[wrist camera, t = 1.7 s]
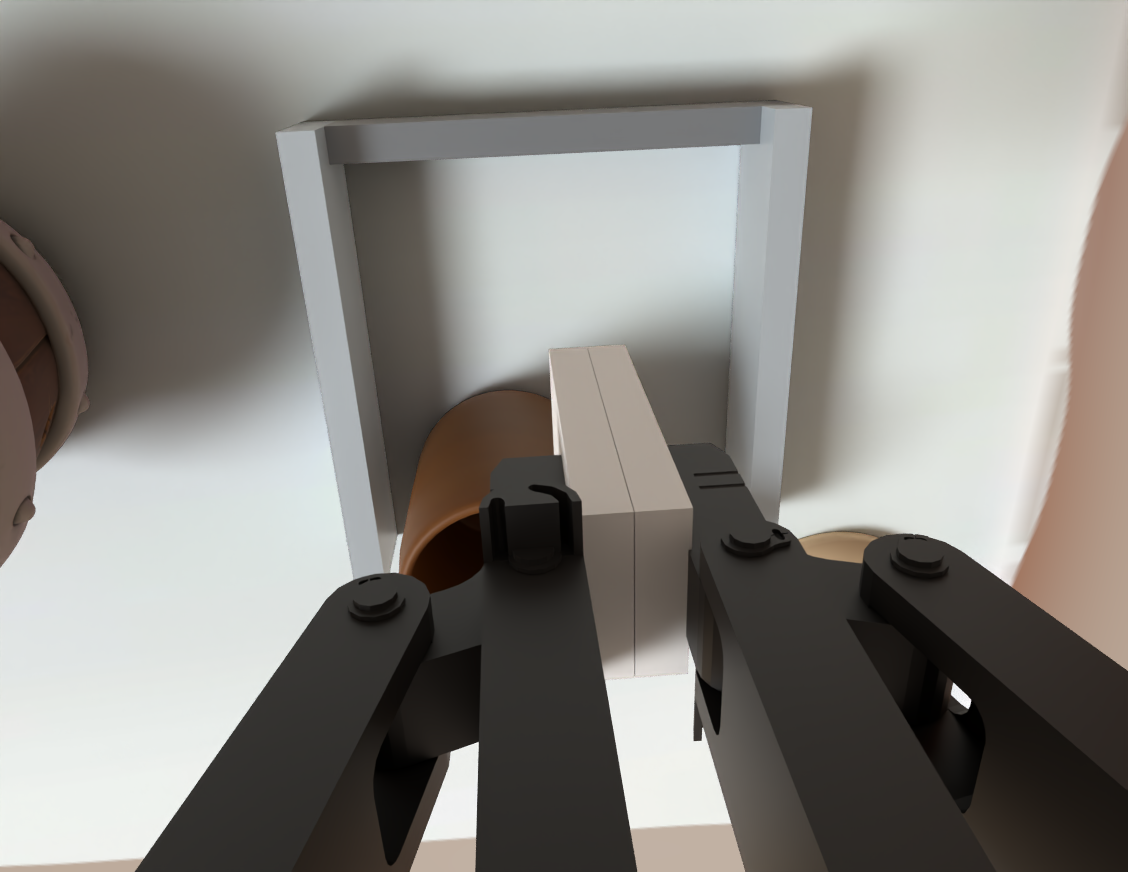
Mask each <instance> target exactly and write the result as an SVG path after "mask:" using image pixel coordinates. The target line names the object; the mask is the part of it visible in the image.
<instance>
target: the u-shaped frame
mask: <svg viewBox="0 0 1128 872" xmlns="http://www.w3.org/2000/svg"><path fill="white" fill-rule="evenodd" d="M812 108H813V107H808V106H803V105H797V104H792V103H787V102H782V101H777V100H768V101H746V102H725V103H703V104H681V105H659V106H637V107H616V108H594V109H572V110H550V111H529V112H507V113H485V114H463V115H441V116H420V117H398V118H376V119H354V120H332V121H311V122H301V123H299V124H296V125H293V126H291V127H288V128H286V129H283V130H280V131H278V132H275V133H276V139H277V145H278V151H279V156H280V162H281V168H282V173H283V179H284V185H285V190H286V196H287V202H288V208H289V213H290V219H291V225H292V230H293V236H294V242H295V247H296V253H297V259H298V265H299V270H300V276H301V282H302V287H303V293H304V299H305V305H306V310H307V316H308V322H309V327H310V333H311V339H312V344H313V350H314V356H315V362H316V367H317V373H318V379H319V384H320V390H321V396H322V402H323V407H324V413H325V419H326V424H327V430H328V436H329V441H330V447H331V453H332V459H333V464H334V470H335V476H336V481H337V487H338V493H339V498H340V504H341V510H342V516H343V521H344V527H345V533H346V538H347V544H348V550H349V556H350V561H351V567H352V573H353V578H354V580H355V579H357V578H361V577H364V576H369V575H372V574H378V573H390V568H391V564H392V559H393V554H394V550H395V545H396V540H397V529H396V522H395V515H394V508H393V501H392V494H391V487H390V480H389V473H388V467H387V460H386V453H385V446H384V439H383V432H382V425H381V418H380V411H379V404H378V397H377V390H376V383H375V377H374V370H373V363H372V356H371V349H370V342H369V335H368V328H367V321H366V314H365V307H364V300H363V294H362V287H361V280H360V273H359V266H358V259H357V252H356V245H355V238H354V231H353V224H352V217H351V210H350V204H349V197H348V190H347V183H346V176H345V169H344V164H355V163H376V162H396V161H417V160H438V159H458V158H479V157H500V156H521V155H541V154H562V153H583V152H603V151H624V150H645V149H666V148H686V147H707V146H728V145H740V162H739V183H738V203H737V223H736V244H735V264H734V284H733V305H732V325H731V345H730V366H729V386H728V406H727V427H726V447H725V453H726V454H728V455H729V456H730V457H731V459H732V461H733V463H734V464H735V466H736V468H737V470H738V474H740V475H741V477H742V479H743V481H744V482H745V486H747V488H748V489H749V491H750V493H751V495H752V497H753V498H754V500H755V502H756V504H757V505H758V507H759V509H760V511H761V513H762V514H763V516H764V518H765V520H766V521H769V522H774V523H776V524H778V519H779V507H780V495H781V483H782V471H783V458H784V446H785V434H786V422H787V410H788V398H789V386H790V374H791V362H792V350H793V338H794V325H795V313H796V301H797V289H798V277H799V265H800V253H801V241H802V229H803V217H804V205H805V192H806V180H807V168H808V156H809V144H810V132H811V120H812Z"/></svg>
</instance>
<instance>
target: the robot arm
mask: <svg viewBox="0 0 1128 872" xmlns="http://www.w3.org/2000/svg"><path fill="white" fill-rule="evenodd" d="M549 362H550V383H551V404H552V424H553V445H554V455H548V456H533V457H518V458H503V459H502V460H501V461H500V463H499V464H498V465H497V466H496V467H495V468H494V470H493V471H492V472H491V473H490V493H489V494H487V495H486V496H485V497H484V498H483V499H482V501H481V504H480V506H479V517H480V528H481V538H482V549H483V559H484V566H483V567H482V569H481V570H480V571H479V572H478V573H477V574H476V575H474V576H473V577H472V578H470V579H469V580H467V581H465V582H463V583H461V584H460V585H457V586H454V587H451V588H449V589H446V590H442V591H439V592H435V593H432V594H430V593H429V591H428V589H427V587H426V585H425V584H424V583H423V582H421V581H419V580H418V579H416V578H414V577H413V576H409V575H404V574H399V573H378V574H372V575H369V576H364V577H361V578H357V579H355V580H353V581H351V582H349V583H347V584H345V585H343V586H341V587H339V588H338V589H337V590H336V591H335V592H334V593H333V594H332V595H330V596H329V597H328V598H327V599H326V601H325V602H324V603H323V605H322V606H321V608H320V609H319V611H318V612H317V613H316V615H315V616H314V618H313V619H312V621H311V622H310V623H309V625H308V626H307V628H306V629H305V630H304V632H303V633H302V635H301V636H300V638H299V639H298V640H297V642H296V643H295V645H294V646H293V648H292V649H291V650H290V652H289V653H288V655H287V656H286V658H285V659H284V660H283V662H282V663H281V665H280V666H279V667H278V669H277V670H276V672H275V673H274V675H273V676H272V677H271V679H270V680H269V682H268V683H267V685H266V686H265V687H264V689H263V690H262V692H261V693H260V694H259V696H258V697H257V699H256V700H255V702H254V703H253V704H252V706H251V707H250V709H249V710H248V712H247V713H246V714H245V716H244V717H243V719H242V720H241V721H240V723H239V724H238V726H237V727H236V729H235V730H234V731H233V733H232V734H231V736H230V737H229V739H228V740H227V741H226V743H225V744H224V746H223V747H222V748H221V750H220V751H219V753H218V754H217V756H216V757H215V758H214V760H213V761H212V763H211V764H210V766H209V767H208V768H207V770H206V771H205V773H204V774H203V776H202V777H201V778H200V780H199V781H198V783H197V784H196V785H195V787H194V788H193V790H192V791H191V793H190V794H189V795H188V797H187V798H186V800H185V801H184V803H183V804H182V805H181V807H180V808H179V810H178V811H177V812H176V814H175V815H174V817H173V818H172V820H171V821H170V822H169V824H168V825H167V827H166V828H165V830H164V831H163V832H162V834H161V835H160V837H159V838H158V839H157V841H156V842H155V844H154V845H153V847H152V848H151V849H150V851H149V852H148V854H147V855H146V857H145V858H144V859H143V861H142V862H141V864H140V865H139V867H138V868H137V870H136V871H135V872H410V869H411V866H412V864H413V861H414V858H415V855H416V853H417V850H418V848H419V845H420V842H421V839H422V837H423V834H424V831H425V829H426V826H427V823H428V821H429V818H430V815H431V813H432V810H433V807H434V805H435V802H436V799H437V797H438V794H439V791H440V789H441V786H442V783H443V781H444V778H445V775H446V773H447V770H448V767H449V760H450V752H451V751H454V750H457V749H459V748H462V747H465V746H468V745H471V744H474V743H477V742H479V757H478V794H477V831H476V868H475V872H637V867H636V861H635V855H634V849H633V844H632V838H631V832H630V826H629V820H628V814H627V808H626V802H625V796H624V790H623V784H622V779H621V773H620V767H619V761H618V755H617V749H616V743H615V737H614V731H613V726H612V720H611V714H610V708H609V702H608V696H607V690H606V684H605V680H613V679H626V678H634V674H635V678H639V677H652V676H665V675H678V674H688V655H689V647H690V650H691V653H692V657H693V660H694V663H695V666H696V674H695V701H694V741H702V728H704V731H705V734H706V738H707V741H708V745H709V748H710V752H711V755H712V758H713V762H714V765H715V769H716V772H717V776H718V779H719V782H720V786H721V789H722V793H723V796H724V800H725V803H726V806H727V810H728V813H729V817H730V820H731V824H732V827H733V830H734V834H735V837H736V841H737V844H738V848H739V851H740V854H741V858H742V861H743V865H744V868H745V872H1128V671H1127V670H1126V669H1124V668H1123V667H1121V666H1120V665H1119V664H1117V663H1116V662H1115V661H1113V660H1112V659H1110V658H1109V657H1108V656H1106V655H1105V654H1103V653H1102V652H1101V651H1099V650H1098V649H1097V648H1095V647H1093V646H1092V645H1091V644H1090V643H1088V642H1087V641H1085V640H1084V639H1083V638H1081V637H1080V636H1078V635H1077V634H1076V633H1074V632H1073V631H1072V630H1070V629H1069V628H1067V627H1066V626H1065V625H1063V624H1062V623H1060V622H1059V621H1058V620H1056V619H1055V618H1054V617H1052V616H1051V615H1049V614H1048V613H1046V612H1045V611H1044V610H1042V609H1041V608H1040V607H1038V606H1037V605H1036V604H1034V603H1033V602H1031V601H1030V600H1029V599H1027V598H1026V597H1024V596H1023V595H1022V594H1020V593H1019V592H1017V591H1016V590H1015V589H1013V588H1012V587H1011V586H1009V585H1008V584H1006V583H1005V582H1004V581H1002V580H1001V579H999V578H998V577H997V576H995V575H994V574H993V573H991V572H990V571H988V570H987V569H986V568H984V567H983V566H981V565H980V564H979V563H977V562H976V561H974V560H973V559H972V558H970V557H969V556H968V555H966V554H965V553H963V552H962V551H960V550H958V549H957V548H955V547H953V546H951V545H949V544H947V543H946V542H943V541H939V540H936V539H933V538H929V537H928V536H924V535H918V534H915V535H913V534H896V535H885V536H883V537H880V538H878V539H875V540H873V541H871V542H870V543H869V544H868V546H867V547H866V548H865V549H864V554H863V561H862V563H855V562H846V561H838V560H830V559H824V558H819V557H814V556H811V555H808V554H807V553H806V551H805V550H804V548H803V546H802V545H801V543H800V541H799V540H798V539H797V538H796V537H795V536H794V535H793V534H792V533H791V532H790V531H789V530H788V529H786V528H784V527H782V526H780V525H778V524H776V523H774V522H769V521H766V520H765V518H764V516H763V514H762V513H761V511H760V509H759V507H758V505H757V504H756V502H755V500H754V498H753V497H752V495H751V493H750V491H749V489H748V488H747V486H745V482H744V481H743V479H742V477H741V475H740V474H738V470H737V468H736V466H735V464H734V463H733V461H732V459H731V457H730V456H729V455H728V454H726V453H725V452H723V451H722V450H720V449H719V448H717V447H716V446H714V445H713V444H711V443H701V444H685V445H670V446H667V444H666V442H665V439H664V437H663V435H662V432H661V430H660V427H659V425H658V423H657V420H656V418H655V415H654V413H653V411H652V408H651V406H650V403H649V401H648V399H647V396H646V394H645V391H644V389H643V387H642V384H641V382H640V379H639V377H638V375H637V372H636V370H635V367H634V365H633V363H632V360H631V358H630V355H629V353H628V351H627V348H626V346H625V345H608V346H591V347H574V348H557V349H549ZM953 682H954V683H955V684H956V685H957V686H958V687H959V688H960V689H961V690H962V691H963V692H964V693H965V694H967V695H968V697H969V698H970V699H971V705H970V707H969V709H967V708H966V707H964V706H963V705H961V704H960V703H959V702H958V701H957V700H956V699H955V698H954V697H953V696H952V695H951V690H952V686H953Z"/></svg>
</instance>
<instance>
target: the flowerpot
mask: <svg viewBox="0 0 1128 872" xmlns="http://www.w3.org/2000/svg"><path fill="white" fill-rule="evenodd" d="M87 382H88V358H87V351H86V345H85V340H84V336H83V332H82V328H81V325H80V322H79V319H78V316H77V314H76V311H75V309H74V306H73V304H72V302H71V300H70V298H69V296H68V294H67V292H66V290H65V289H64V287H63V285H62V283H61V282H60V280H59V279H58V277H57V275H56V274H55V272H54V271H53V270H52V268H51V267H50V266H49V264H48V263H47V262H46V261H45V259H44V258H43V257H42V256H41V255H40V254H39V253H38V252H37V251H36V250H35V248H34V245H33V243H32V242H31V241H30V240H29V239H27V238H25V237H22V236H21V235H20V234H19V233H18V232H17V231H15V230H14V229H13V228H12V227H10V226H9V225H8V224H6V223H5V222H4V221H2V220H1V219H0V567H1V566H2V565H3V563H4V562H5V561H6V560H7V558H8V557H9V556H10V554H11V553H12V551H13V550H14V548H15V547H16V545H17V543H18V542H19V540H20V538H21V536H22V534H23V532H24V530H25V528H26V526H27V523H28V521H29V520H30V519H31V518H32V517H33V516H34V514H35V506H34V504H33V503H32V502H33V496H34V489H35V481H36V472H37V471H38V470H40V469H41V468H42V467H43V466H44V465H45V464H46V463H47V462H48V461H49V460H50V459H51V458H52V457H53V456H54V455H55V454H56V452H57V451H58V450H59V449H60V448H61V446H62V445H63V444H64V442H65V441H66V439H67V438H68V436H69V435H70V433H71V431H72V430H73V428H74V426H75V423H76V421H77V418H78V416H79V414H80V413H83V412H85V411H86V410H87V409H88V408H89V406H90V400H89V398H88V397H87V395H86V394H85V391H86V387H87Z"/></svg>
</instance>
